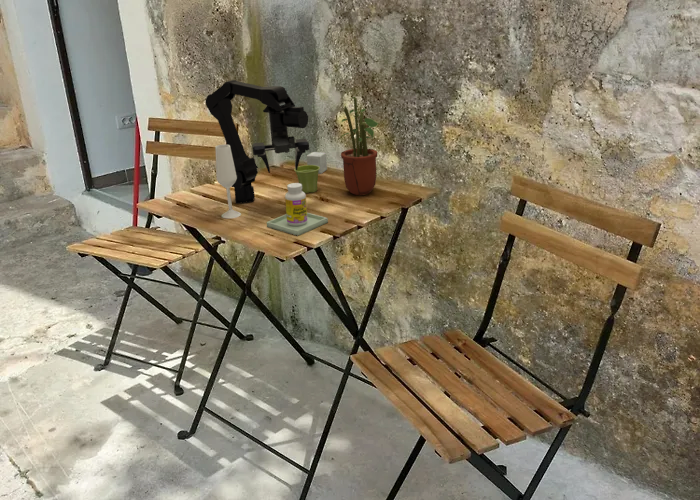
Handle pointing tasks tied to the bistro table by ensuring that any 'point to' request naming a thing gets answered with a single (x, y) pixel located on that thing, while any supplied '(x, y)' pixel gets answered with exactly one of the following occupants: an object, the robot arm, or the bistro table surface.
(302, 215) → the supplement bottle
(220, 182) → the champagne flute
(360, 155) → the potted plant
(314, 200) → the bistro table surface
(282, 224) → the tray
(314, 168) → the plant pot
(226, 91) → the robot arm
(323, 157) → the product box
